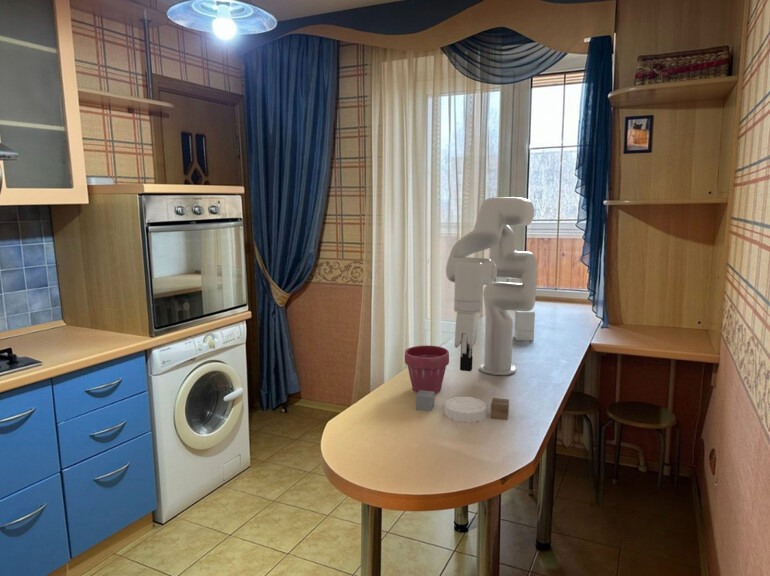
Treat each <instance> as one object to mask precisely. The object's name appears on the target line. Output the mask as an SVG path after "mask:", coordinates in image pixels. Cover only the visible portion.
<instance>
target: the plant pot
mask: <svg viewBox="0 0 770 576" xmlns="http://www.w3.org/2000/svg"><path fill="white" fill-rule="evenodd" d="M404 363H405V365H406V366H407V368H408V374H409V379H410V383H411V387H412V391H413V392H415V393H416V394H417V393H418V392H419V390H424V391H433V392H435V394H437V393H440V392H441V390H442V386H443V382H444V377H445V372H446V368H447V366H448V365H449V364H450V352H449V349H447V348H444V347H442V346H439V345H416V346H412V347H408V348H406V349H405V350H404Z"/></svg>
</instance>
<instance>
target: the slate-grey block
mask: <svg viewBox="0 0 770 576" xmlns="http://www.w3.org/2000/svg"><path fill="white" fill-rule="evenodd" d="M435 394H436V393H435V392H433V391H424V390H419V392H418V393H417V392H416V395H415V410H416V411H423V412H432V411H433V409H434V407H435Z"/></svg>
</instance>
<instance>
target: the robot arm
mask: <svg viewBox="0 0 770 576" xmlns="http://www.w3.org/2000/svg"><path fill="white" fill-rule="evenodd" d="M534 217H535V207H534V203H533V202H532V201H531V200H530V199H529V198H528V199H527V198H524V197H520V196H519V197H516V196H515V197H514V196H511V197H510V196H509V197H507V196H504V197H503V196H499V197H498V196H496V197H494V196H493V197H489V198H487V199H485V200H483V201H482V203H481V205H480V208H479V211H478V213H477V217H476V219H475V223H474V226H473V230H472V231H469V232H468V233H467V234H465V235H464V236H462V237H461V238H460V239H459V240H457V242H455V244H453V246H452V248H451V250H450V253H449V255H448V259H447V263H446V266H445V274H446V278H447V279H448V281H449V282H451V283H454V296H453V297H454V299H453V300H454V302H453V303H454V305H453V307H454V308H453V311H454V312H455V313H457V314H456V319H455V331H454V334H455V335H454V348H456V349H457V348H459V347H460V356H459V357H460V359H459V360H460V361H459V370H460V371H461V372H472V370H473V350H474V349H473V348H474V346H475V344H476V342H477V333H478V314H479V313H482V312H483V311H482V309H483V308H482V306H483V303H484V309H485V310H484V311H485V312H484V313H485V315H484V316H485V317H484V318H485V323H484V326H485V329H484V354H483V355H484V356H483V357H484V358H483V361H484V362H482V363H481V364H480V365H479V371H481V372H482V373H485V374H488V375H493V376H509V375H512V374H515V373H516V372H517V367H516V366H515V365H514V364H512V361H513V359H512V358H513V337H514V336H513V335H514V334H513V332H514V322H513V318H512V316H511V315H510V314H509V312H508V311H514V312H515V311H530V310H534V307H535V304H536V294H537V278H538V277H537V274H538V264H537V263H538V261H537V258H536V255H535V254H534V253H533V252H531V251H521V250H519V251H518V250H516V239H517V238H516V234H515V232H514V230H513V229H512V228H511V227H510V226H521V227H522V226H523V227H525V226H529V225H530V224H531V223H532V221H533V220H534ZM487 249H489V258H483V257H481V258H480V257H469V256H470V255H472V254H475V253H478V252H482V251H486V250H487ZM496 278H498V279H508V280H509V279H512V280H520V281H521V283H520V282H509V281H508V282H507V281H495V279H496ZM483 285H484V289H483Z"/></svg>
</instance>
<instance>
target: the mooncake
mask: <svg viewBox="0 0 770 576" xmlns="http://www.w3.org/2000/svg"><path fill="white" fill-rule="evenodd" d="M443 412H444V414H445V417H447V418H448V419H449V420H452V421H456V422H457V421H458V422H459V423H463V422H464V423H475V422H480V421H483V420H486V419H485V418H487V416H488V405H487V403H486V402H485V401H483V400H482V399H479V398H476V397H471V396H456V397H451V398H449V399H448V398H447V400H446V401H445V402H444V411H443Z"/></svg>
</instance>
